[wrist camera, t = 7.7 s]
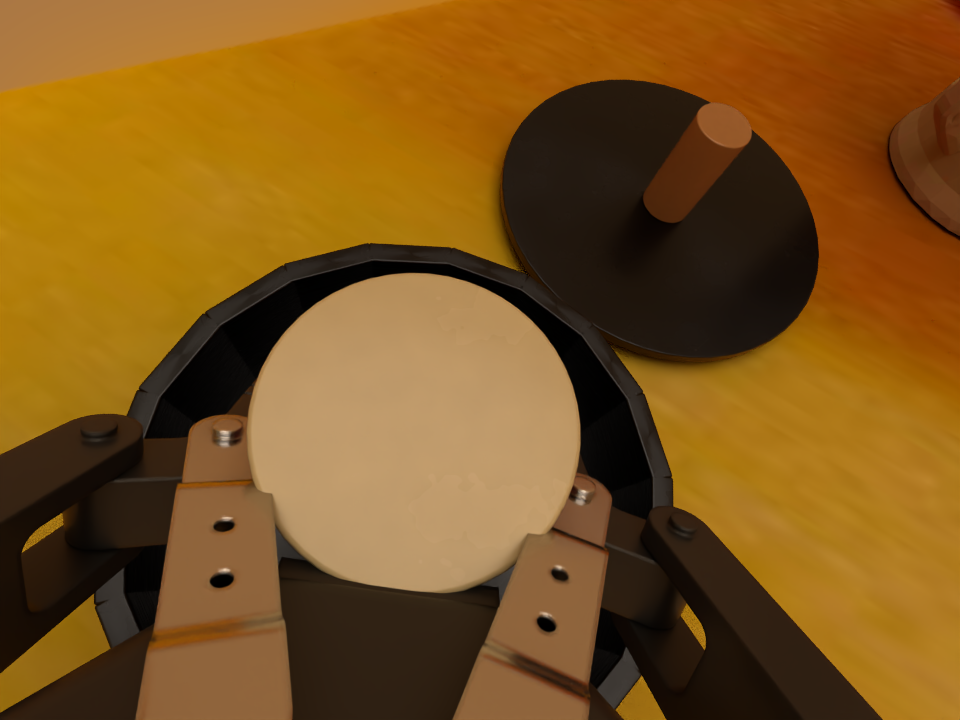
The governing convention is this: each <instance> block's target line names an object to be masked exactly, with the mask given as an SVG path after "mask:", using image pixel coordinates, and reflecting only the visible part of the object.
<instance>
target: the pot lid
mask: <svg viewBox="0 0 960 720" xmlns="http://www.w3.org/2000/svg"><path fill="white" fill-rule="evenodd" d="M500 198H501V209H502V214H503V218H504V222H505V226H506V230H507V233H508V235H509V238H510V240H511V243H512V245H513V247H514V250H515V252H516V254H517V255H518V257H519V259H520V261H521V262H522V264H523V266H524V268H525V269H526V271H527V272H528V273H529V275H530V276H531V277H532V278H533V279H535V280H536V281H537V282H539V283H540V284H541V285H543V286H544V287H545V288H547V289H548V290H549V291H551V292H552V293H553V294H555V295H556V296H557V297H559V298H560V299H561V300H563V301H564V302H565V303H567V304H568V305H569V306H571V307H572V308H573V309H575V310H576V311H577V312H579V313H580V314H581V315H583V316H584V317H585V318H587V319H588V320H589V321H591V322H592V323H593V325H595V326H596V327H597V329H598V330H599V331H600V333H601V334H602V336H603V337H604V338H605V340H607V341H609V342H611V343H613V344H615V345H618V346H620V347H623V348H625V349H628V350H631V351H633V352H636V353H639V354H643V355H647V356H651V357H655V358H659V359H664V360H672V361H680V362H709V361H716V360H723V359H729V358H732V357H735V356H739V355H742V354H745V353H748V352H750V351H752V350H754V349H756V348H758V347H760V346H762V345H764V344H766V343H767V342H769V341H771V340H772V339H773V338H775V337H776V336H778V335H779V334H780V333H782V332H783V331H784V330H786V329H787V328H788V326H789V325H790V324H791V323H792V322H793V321H794V320H795V319H796V318H797V317H798V316H799V314H800V313H801V311H802V310H803V308H804V307H805V305H806V304H807V301H808V299H809V297H810V295H811V292H812V290H813V288H814V284H815V280H816V275H817V271H818V258H819V250H818V237H817V232H816V228H815V223H814V219H813V216H812V213H811V210H810V208H809V205H808V202H807V200H806V198H805V196H804V194H803V192H802V190H801V188H800V186H799V184H798V183H797V181H796V179H795V178H794V176H793V175H792V173H791V172H790V170H789V169H788V167H787V166H786V165H785V164H784V162H783V161H782V160H781V158H780V157H779V156H778V155H777V154H776V152H775V151H774V150H773V149H772V148H771V147H770V146H769V145H768V144H767V143H766V142H765V141H764V140H763V139H762V138H761V137H760V136H758V135H757V134H756V133H755V132H754V131H753V130H752V129H751V126H750V124H749V122H748V120H747V119H746V118H745V116H744V115H743V114H742V113H740V112H739V111H738V110H736V109H735V108H733V107H731V106H729V105H726V104H722V103H710V102H708V101H706V100H704V99H702V98H700V97H698V96H695V95H693V94H690V93H687V92H685V91H682V90H679V89H676V88H672V87H669V86H665V85H661V84H656V83H651V82H646V81H635V80H605V81H597V82H590V83H586V84H582V85H578V86H575V87H572V88H569V89H567V90H564V91H562V92H559V93H558V94H556V95H554V96H552V97H551V98H549V99H547V100H545V101H544V102H543V103H542V104H540V105H539V106H538V107H537V108H535V109H534V110H533V111H532V112H531V113H530V114H529V115H528V116H527V117H526V119H525V120H524V121H523V122H522V123H521V125H520V126H519V128H518V129H517V131H516V133H515V134H514V136H513V138H512V140H511V143H510V145H509V147H508V150H507V152H506V156H505V160H504V164H503V168H502V173H501V183H500Z"/></svg>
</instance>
